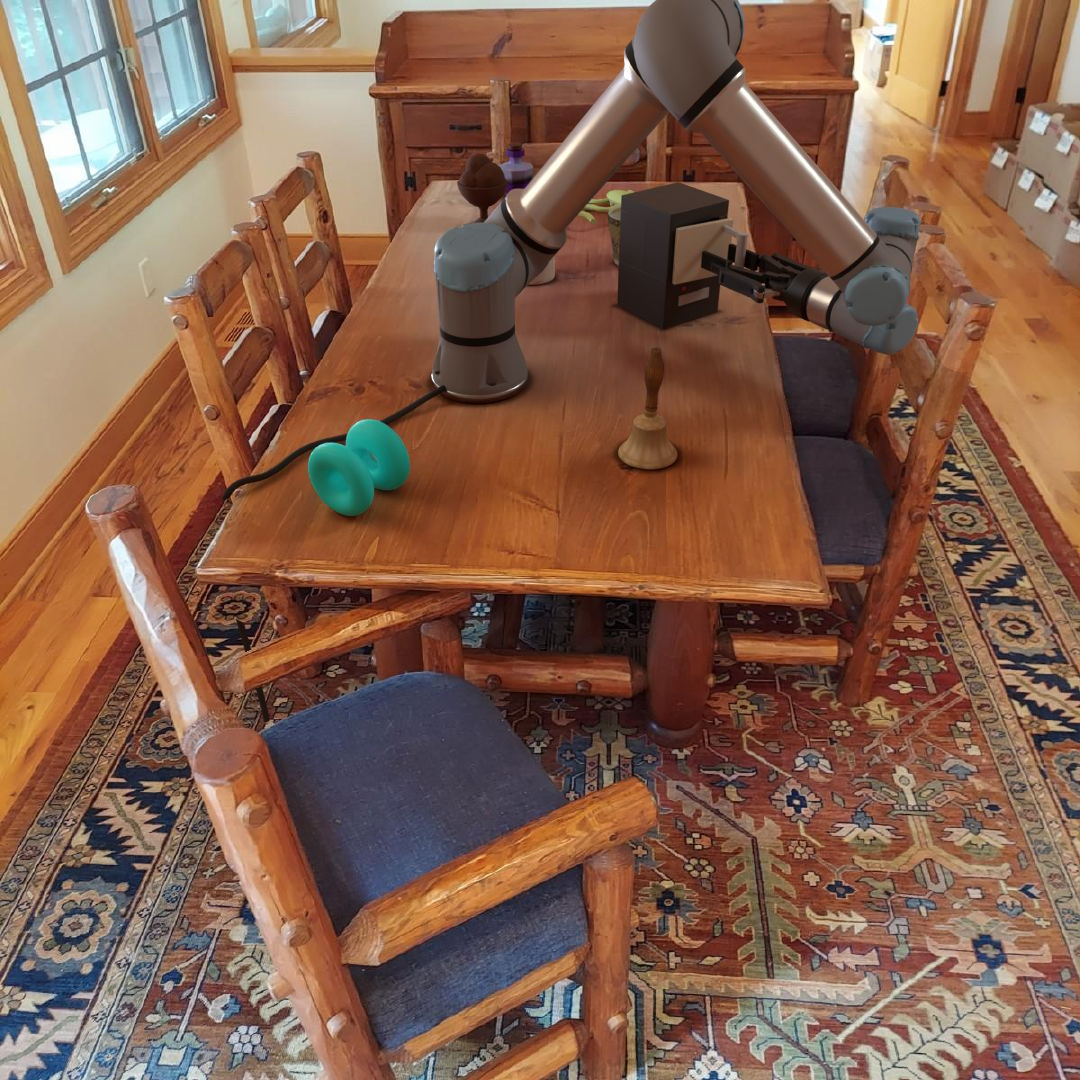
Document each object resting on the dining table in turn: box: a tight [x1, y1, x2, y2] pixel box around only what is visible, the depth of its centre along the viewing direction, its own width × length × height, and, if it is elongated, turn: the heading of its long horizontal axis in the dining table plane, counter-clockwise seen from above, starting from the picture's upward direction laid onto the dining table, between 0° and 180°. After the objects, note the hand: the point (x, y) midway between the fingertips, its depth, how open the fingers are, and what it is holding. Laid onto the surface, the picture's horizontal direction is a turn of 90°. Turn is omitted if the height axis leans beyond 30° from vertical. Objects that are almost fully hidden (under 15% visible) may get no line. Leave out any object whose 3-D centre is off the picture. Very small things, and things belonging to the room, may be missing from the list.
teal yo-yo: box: [307, 418, 411, 517], centre depth 123 cm, size 10×10×10 cm
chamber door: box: [672, 217, 749, 284], centre depth 160 cm, size 7×11×9 cm, turn 117°
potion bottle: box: [497, 142, 534, 197], centre depth 227 cm, size 9×9×12 cm
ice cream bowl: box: [456, 152, 508, 223], centre depth 209 cm, size 11×11×15 cm
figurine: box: [577, 189, 635, 225], centre depth 214 cm, size 18×27×6 cm
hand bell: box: [617, 346, 679, 470], centre depth 130 cm, size 8×8×16 cm
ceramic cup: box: [607, 206, 621, 267], centre depth 192 cm, size 13×10×10 cm
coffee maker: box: [616, 181, 730, 330], centre depth 169 cm, size 14×13×20 cm
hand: (716, 255), depth 161 cm, fingers open, 5 cm apart
